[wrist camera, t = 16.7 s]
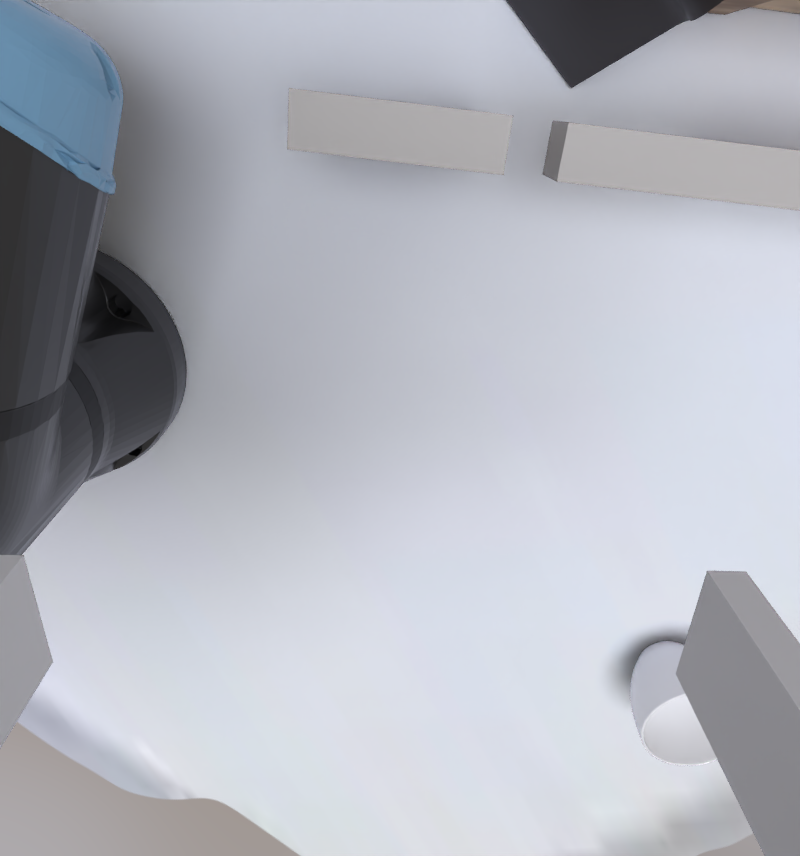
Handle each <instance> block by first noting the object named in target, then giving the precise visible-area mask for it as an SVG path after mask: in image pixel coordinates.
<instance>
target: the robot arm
mask: <svg viewBox="0 0 800 856" xmlns="http://www.w3.org/2000/svg"><path fill="white" fill-rule="evenodd" d="M122 106H123V89H122V84H121V80H120V77H119V74H118V72H117V70H116V68H115V65H114V64H113V62H112V61H111V59H110V57H109V56H108V55H107V53H106V52H105V51H104V49H103V48H102V47H101V46H100V45H99V44H98V43H97V42H96V41H95V40H93V39H92V38H91V37H90V36H88V35H87V34H85V33H84V32H82V31H81V30H79V29H78V28H76V27H75V26H73V25H71V24H70V23H68V22H67V21H65V20H63V19H61V18H60V17H58V16H56V15H55V14H53V13H51V12H49V11H48V10H46V9H44V8H42V7H41V6H39V5H37V4H35V3H34V2H32V1H30V0H0V748H1V747H2V745H3V743H4V741H5V740H6V738H7V737H8V735H9V733H10V732H11V730H12V729H13V727H14V725H15V724H16V722H17V720H18V719H19V717H20V715H21V714H22V712H23V710H24V709H25V707H26V705H27V704H28V702H29V700H30V699H31V697H32V696H33V694H34V692H35V691H36V689H37V687H38V686H39V684H40V682H41V681H42V679H43V677H44V676H45V674H46V672H47V671H48V669H49V667H50V666H51V664H52V663H53V660H52V657H51V653H50V649H49V646H48V642H47V639H46V635H45V631H44V628H43V624H42V620H41V617H40V613H39V610H38V606H37V602H36V599H35V595H34V591H33V588H32V584H31V581H30V577H29V573H28V570H27V566H26V563H25V559H24V555H22V554H23V553H24V552H25V550H26V549H27V548H28V547H29V546H30V545H31V543H32V542H33V541H34V540H35V539H36V538H37V536H38V535H39V534H40V533H41V532H42V531H43V529H44V528H45V527H46V526H47V525H48V524H49V522H50V521H51V520H52V519H53V518H54V517H55V516H56V514H57V513H58V512H59V511H60V510H61V509H62V507H63V506H64V505H65V504H66V503H67V502H68V500H69V499H70V498H71V497H72V496H73V495H74V493H75V492H76V491H77V490H78V488H79V487H80V486H81V485H82V484H83V483H84V482H86V481H88V480H91V479H93V478H95V477H98V476H100V475H103V474H105V473H108V472H110V471H112V470H115V469H118V468H120V467H122V466H124V465H126V464H129V463H130V462H132V461H134V460H136V459H137V458H139V457H140V456H141V455H143V454H144V453H145V452H146V451H148V450H149V449H150V448H151V447H152V446H153V445H154V444H155V443H156V442H157V441H158V440H159V438H160V437H161V436H162V435H163V433H164V432H165V431H166V429H167V428H168V427H169V425H170V424H171V423H172V421H173V420H174V418H175V416H176V414H177V412H178V410H179V408H180V405H181V403H182V399H183V396H184V391H185V384H186V363H185V356H184V351H183V347H182V343H181V340H180V337H179V334H178V332H177V329H176V327H175V325H174V323H173V321H172V319H171V317H170V315H169V313H168V312H167V310H166V309H165V307H164V306H163V304H162V303H161V301H160V300H159V299H158V297H157V296H156V295H155V294H154V293H153V291H152V290H151V289H150V288H149V287H148V286H147V285H146V284H145V283H144V282H143V281H142V280H141V279H140V278H139V277H138V276H137V275H135V274H134V273H133V272H132V271H130V270H129V269H128V268H126V267H125V266H124V265H122V264H121V263H119V262H118V261H116V260H114V259H113V258H111V257H109V256H107V255H105V254H104V253H102V252H99V251H97V249H98V244H99V239H100V235H101V230H102V225H103V221H104V216H105V212H106V207H107V202H108V198H109V194H114V193H115V189H116V183H115V179H114V177H113V175H112V171H113V164H114V158H115V152H116V145H117V139H118V132H119V126H120V119H121V113H122ZM676 676H677V678H678V680H679V682H680V684H681V686H682V688H683V690H684V692H685V694H686V696H687V698H688V700H689V702H690V704H691V706H692V708H693V710H694V712H695V714H696V717H697V719H698V721H699V723H700V725H701V727H702V729H703V731H704V733H705V735H706V737H707V739H708V741H709V743H710V745H711V747H712V749H713V751H714V753H715V755H716V757H717V759H718V762H719V764H720V766H721V768H722V770H723V772H724V774H725V776H726V778H727V780H728V782H729V784H730V786H731V788H732V790H733V792H734V794H735V796H736V798H737V800H738V802H739V804H740V806H741V809H742V811H743V813H744V815H745V817H746V819H747V821H748V823H749V825H750V827H751V829H752V831H753V833H754V835H755V837H756V839H757V841H758V843H759V845H760V847H761V849H762V851H763V853H764V856H800V644H799V642H798V641H797V639H796V638H795V637H794V635H793V634H792V633H791V631H790V630H789V629H788V627H787V626H786V625H785V623H784V622H783V621H782V619H781V618H780V617H779V615H778V614H777V613H776V611H775V610H774V609H773V607H772V606H771V605H770V603H769V602H768V600H767V599H766V598H765V596H764V595H763V594H762V592H761V591H760V590H759V588H758V587H757V586H756V584H755V583H754V582H753V580H752V579H751V578H750V576H749V575H748V574H747V572H739V571H707V573H706V576H705V579H704V583H703V586H702V589H701V592H700V596H699V599H698V602H697V605H696V609H695V612H694V615H693V618H692V622H691V625H690V628H689V631H688V635H687V638H686V641H685V644H684V648H683V651H682V654H681V657H680V661H679V664H678V667H677V671H676Z"/></svg>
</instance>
